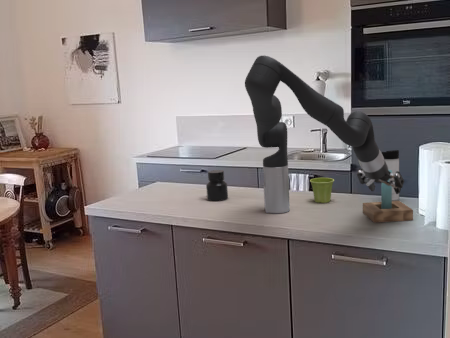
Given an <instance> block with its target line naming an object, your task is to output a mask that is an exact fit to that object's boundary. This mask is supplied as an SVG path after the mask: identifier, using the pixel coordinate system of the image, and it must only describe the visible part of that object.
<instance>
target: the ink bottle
mask: <svg viewBox="0 0 450 338" xmlns="http://www.w3.org/2000/svg"><path fill="white" fill-rule="evenodd" d="M207 178H208V179H207V180H208V182H207V183H206V188H205V189H206V198H207V200H208V201H210V200H212V202H218V201H219V200H221V201H224V200H227V199H229V193H228V183H227V182H226V181H225V172H224V170H221V169H216V170H209V171H207ZM219 202H220V201H219Z"/></svg>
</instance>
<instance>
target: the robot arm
mask: <svg viewBox="0 0 450 338" xmlns="http://www.w3.org/2000/svg"><path fill="white" fill-rule="evenodd" d="M245 77H246V78H245V80H244V87H245V91H246V92H247V93H246V94H247V95H248V97H249V99H250V103H251V107H252V112H253V117H254V120H255V124H256V133H257V142H258V143H259V145H260V146H261V147H262V148H265V149H268V148H270V149H271V148H278V150H277V151H276V152H275V153H272V154H271V155H269V156H266V157H263V159H262V168H263V173H262V174H263V198H264V199H263V200H264V211H265V213H267V214H283V213H288V212H289V211H290V209H291V208H290V206H291V205H290V203H291V202H290V184H289V183H290V182H289V161H288V160H289V159H288V126H287V124H286V122H285V121H284V122H283V121H281V119H282V116H283V111H282V103H281V101H280V99H279V97H277V96H276V95H274V94H275V93H276V90H277V88H278V87H279V84H280V83H283V84H285V86H287V87H288V88H289V89H290V90H291V92H292V93H293V95H294V96H295V97H296V99H297V100H298V103H299V104H300V106H301V108H302V109H303V110H304V112H305V113H307V115H308V116H309V117H310V118H312V119H314V120H315V121H317V122H319V123H320V124H323V126H326V127H328V128H329V130H331V132H332V133H333V134H334V135H335V136H336V137H337V138H338V139H339V140H340V141H341V142H342V143H344V144H345V145H347V146H350V147H352V151H353V152H354V155H355V156H356V158H357V160H358V164H359V166H360V167H361V168H359V169H358V170H357V174H356V175H357V179H358V181H359V183H360V184H361V185H366V186H367V188H368V189H369V190H370V191H371V192H375V190H376V185H375V183H378V184H379V183H385V184H386V185H388V186H392V187H394V190H395V192H396V194H399V195H400V193H401V190H402V189H403V186H404V183H405V180H404V178H403V176H402V175H401V172H400V170H399V171H396V173H391V172H390V171H389V170H388V166H387V164H386V162H385V159H384V157H383V155H382V151H381V150H380V149H379V147H378V144H377V142H376V140H375V138H376V137H375V131H374V125H373V122H372V120H371V117H369V116H368V115H367V113H365V112H363V111H357V110H356V111H352V112H351V113H350V114H349V115H348V116H347V117H346V119H345V111H344V107H342V105H340V104H338V103H337V102H335V101H333V100H332V99H330V98H328V97H326V96H325V95H323V94H322V93H319V92H318V91H316V90H315V89H314V88H313V87H311V86H310V85H309V84H307V82H305V81H304V80H303V79H302V78H300V77H299V76H298V75H297V74H295V73H294V72H293V71H291V69H289V68H288V67H287V66H285V65H284V64H283V63H282V62H280V61H278V60H277V59H276V58H273V57H271V56H268V55H259V56H257V57H256V58H255V59H254V62H253V63H252V65H251V67H250V69H249V72H248V73H247V75H246V76H245ZM389 179H390V180H389ZM388 180H389V182H388ZM393 182H395V184H393Z"/></svg>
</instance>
